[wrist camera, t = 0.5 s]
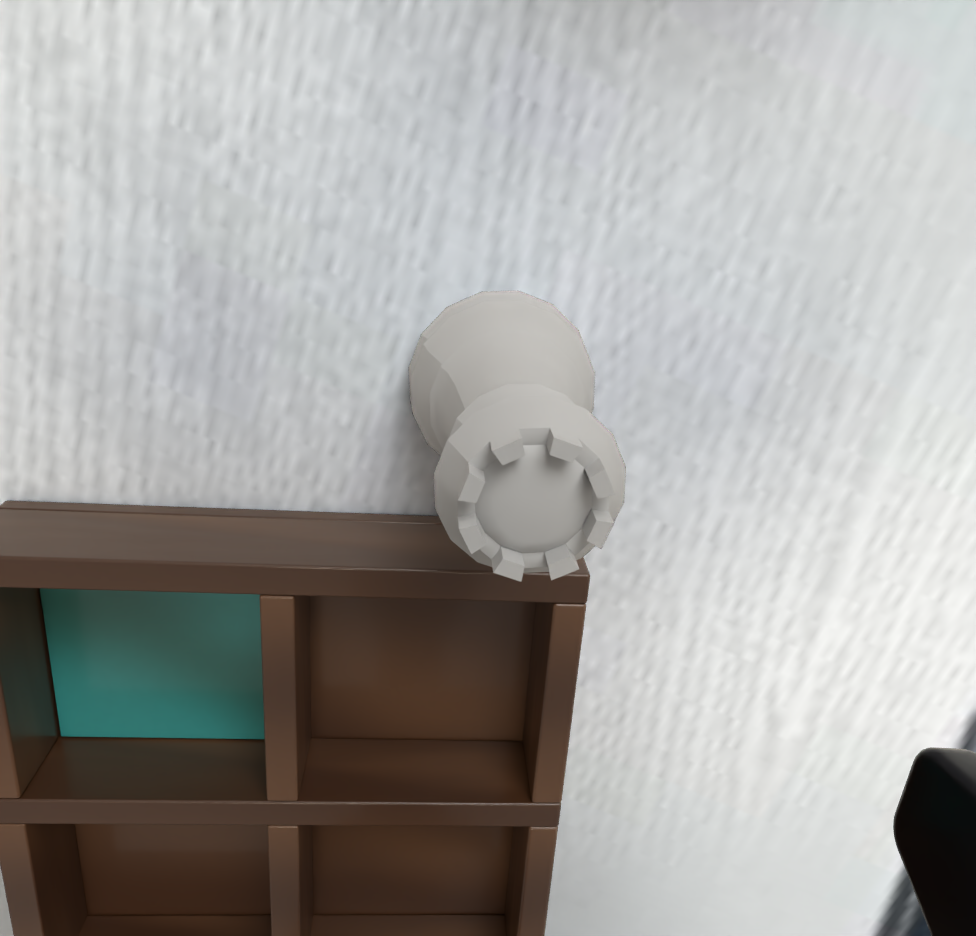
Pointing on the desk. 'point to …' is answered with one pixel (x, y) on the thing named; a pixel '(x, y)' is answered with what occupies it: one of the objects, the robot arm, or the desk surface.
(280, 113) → the desk surface
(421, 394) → the rook chess piece
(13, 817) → the grid
